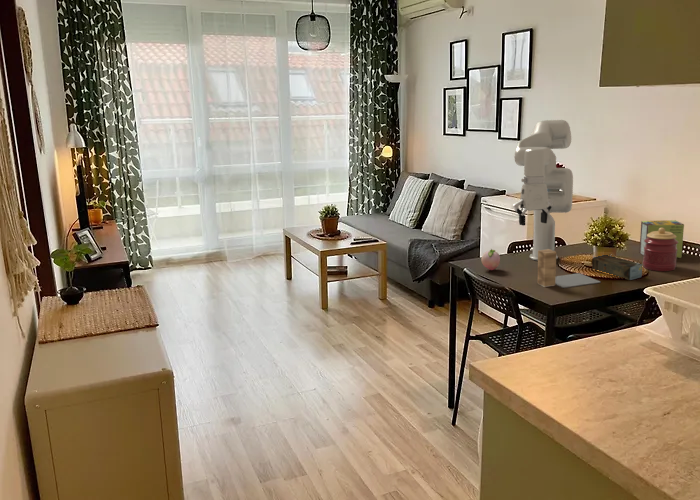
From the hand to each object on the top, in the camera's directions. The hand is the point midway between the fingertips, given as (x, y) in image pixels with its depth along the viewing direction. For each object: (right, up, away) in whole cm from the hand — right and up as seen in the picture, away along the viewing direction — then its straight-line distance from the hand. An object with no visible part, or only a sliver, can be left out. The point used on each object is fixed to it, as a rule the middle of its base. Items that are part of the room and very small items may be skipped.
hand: (533, 223), depth 233 cm
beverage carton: (+41, -21, +17) cm, 49 cm away
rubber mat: (+19, -23, +10) cm, 32 cm away
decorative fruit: (-9, -20, +31) cm, 38 cm away
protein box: (+72, -13, +41) cm, 84 cm away
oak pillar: (+8, -24, +7) cm, 27 cm away
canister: (+61, -18, +22) cm, 68 cm away
